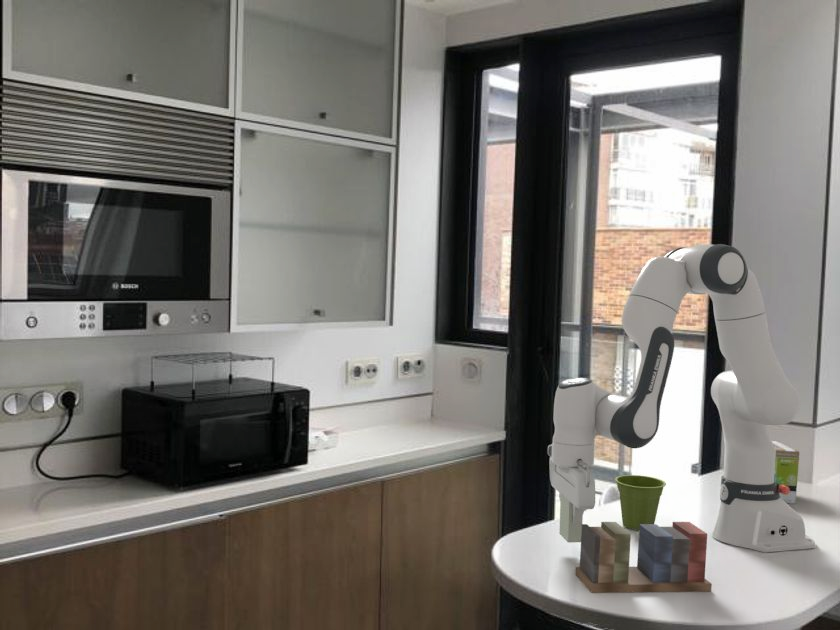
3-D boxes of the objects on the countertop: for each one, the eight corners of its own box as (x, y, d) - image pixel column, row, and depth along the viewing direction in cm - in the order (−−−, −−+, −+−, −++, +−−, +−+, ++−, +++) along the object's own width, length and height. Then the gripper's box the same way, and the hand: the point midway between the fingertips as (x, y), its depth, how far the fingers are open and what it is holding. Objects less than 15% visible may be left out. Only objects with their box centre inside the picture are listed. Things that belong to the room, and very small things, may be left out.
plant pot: (602, 522, 216) (605, 476, 216) (642, 518, 221) (644, 473, 220) (633, 536, 205) (636, 488, 205) (673, 532, 210) (676, 485, 210)
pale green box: (572, 533, 193) (574, 492, 193) (581, 542, 187) (583, 500, 187) (559, 533, 193) (560, 492, 192) (567, 542, 187) (569, 500, 186)
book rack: (688, 573, 181) (691, 520, 181) (711, 591, 171) (714, 535, 171) (575, 574, 178) (578, 520, 177) (591, 592, 168) (594, 535, 167)
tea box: (797, 504, 242) (800, 450, 241) (760, 502, 242) (763, 449, 241) (775, 490, 257) (779, 439, 256) (741, 489, 257) (744, 438, 256)
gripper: (604, 465, 179) (602, 533, 180) (572, 444, 199) (570, 505, 200) (574, 466, 178) (571, 533, 179) (545, 445, 198) (543, 505, 199)
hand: (571, 518), depth 190 cm, fingers closed on pale green box, 6 cm apart
